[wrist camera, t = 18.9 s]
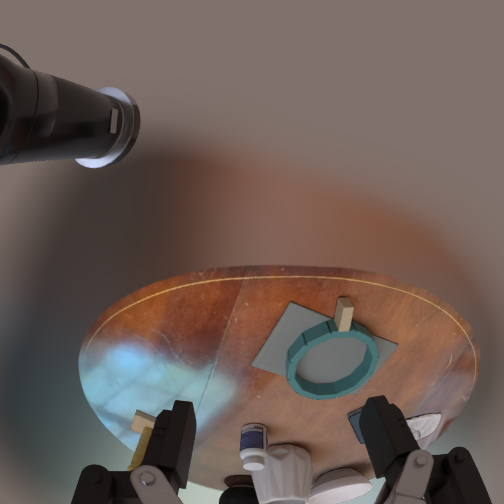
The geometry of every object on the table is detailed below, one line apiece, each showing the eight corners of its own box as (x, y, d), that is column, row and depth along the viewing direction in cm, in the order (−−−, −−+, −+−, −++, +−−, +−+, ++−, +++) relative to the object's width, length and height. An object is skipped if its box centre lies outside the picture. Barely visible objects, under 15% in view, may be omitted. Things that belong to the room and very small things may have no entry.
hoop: (360, 383, 42) (365, 394, 39) (282, 389, 42) (283, 401, 40) (386, 296, 37) (395, 305, 34) (292, 297, 37) (295, 308, 34)
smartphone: (381, 402, 43) (389, 432, 47) (378, 397, 45) (387, 428, 48) (347, 417, 44) (360, 445, 48) (345, 412, 46) (359, 440, 49)
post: (132, 424, 49) (113, 472, 35) (136, 409, 47) (115, 462, 32) (163, 437, 50) (149, 487, 36) (171, 423, 48) (155, 478, 33)
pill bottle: (235, 428, 47) (233, 465, 38) (255, 419, 46) (255, 459, 37) (252, 438, 48) (252, 474, 39) (272, 430, 47) (274, 467, 38)
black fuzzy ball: (274, 482, 57) (276, 522, 43) (240, 490, 60) (238, 527, 45) (247, 470, 54) (246, 515, 40) (211, 477, 57) (206, 518, 42)
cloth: (441, 425, 51) (444, 430, 48) (376, 460, 54) (378, 466, 52) (439, 394, 45) (443, 401, 43) (361, 438, 49) (363, 445, 47)
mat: (250, 363, 41) (250, 365, 41) (290, 300, 37) (290, 302, 37) (355, 393, 44) (355, 395, 43) (397, 343, 40) (398, 345, 40)
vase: (247, 442, 49) (245, 498, 35) (311, 436, 48) (319, 492, 34) (255, 466, 53) (254, 513, 39) (310, 461, 52) (316, 508, 38)
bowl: (292, 485, 58) (294, 506, 50) (329, 460, 53) (333, 484, 45) (341, 486, 60) (345, 504, 52) (379, 460, 55) (385, 480, 47)
